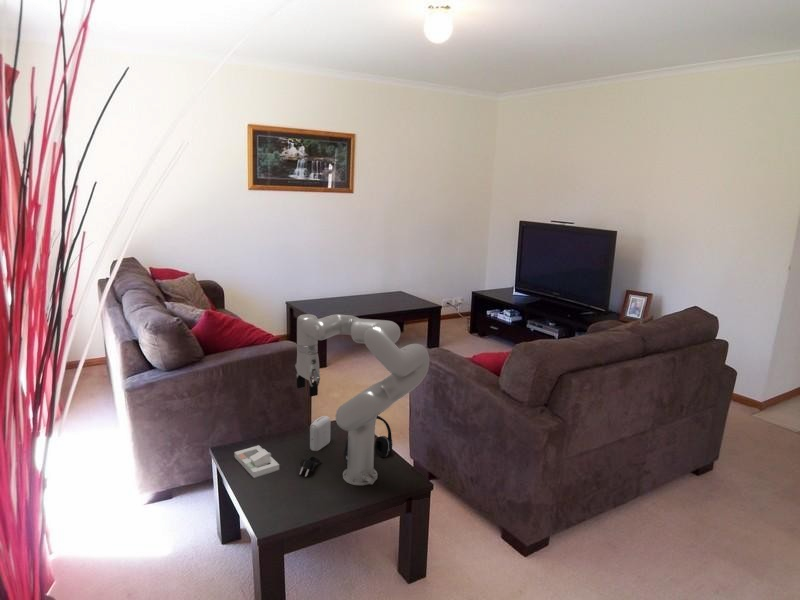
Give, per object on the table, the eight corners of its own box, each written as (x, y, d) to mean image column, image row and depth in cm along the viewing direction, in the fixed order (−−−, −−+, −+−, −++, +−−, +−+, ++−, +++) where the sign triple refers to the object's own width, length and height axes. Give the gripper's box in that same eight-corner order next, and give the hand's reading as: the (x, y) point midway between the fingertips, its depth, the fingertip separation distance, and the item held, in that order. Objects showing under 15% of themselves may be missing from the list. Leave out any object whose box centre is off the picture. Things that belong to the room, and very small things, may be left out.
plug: (256, 470, 199) (273, 460, 203) (253, 461, 197) (271, 451, 201) (252, 465, 202) (269, 456, 206) (249, 456, 200) (266, 447, 204)
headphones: (384, 450, 220) (386, 408, 216) (394, 457, 214) (396, 414, 211) (341, 463, 208) (342, 419, 204) (350, 471, 203) (351, 426, 199)
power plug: (328, 463, 206) (313, 455, 196) (320, 482, 203) (305, 476, 194) (316, 459, 209) (300, 451, 199) (308, 478, 206) (292, 471, 196)
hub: (279, 470, 201) (279, 463, 201) (253, 478, 195) (253, 471, 194) (259, 450, 215) (259, 444, 214) (234, 457, 209) (234, 451, 208)
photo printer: (317, 452, 215) (317, 424, 213) (308, 450, 217) (308, 421, 215) (331, 442, 224) (332, 414, 222) (323, 440, 226) (323, 412, 223)
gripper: (328, 352, 195) (327, 397, 199) (305, 340, 208) (304, 382, 212) (309, 355, 191) (309, 401, 194) (287, 343, 204) (287, 386, 208)
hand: (307, 391), depth 203 cm, fingers open, 9 cm apart
